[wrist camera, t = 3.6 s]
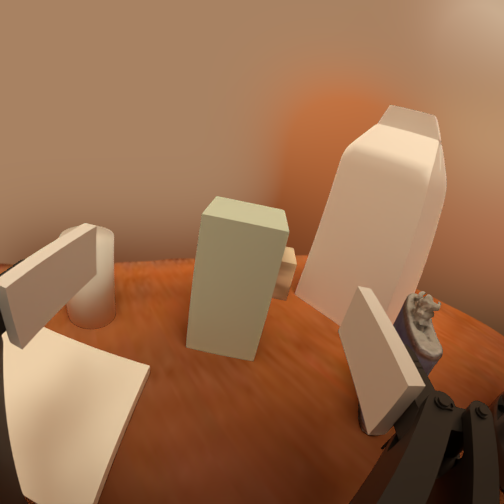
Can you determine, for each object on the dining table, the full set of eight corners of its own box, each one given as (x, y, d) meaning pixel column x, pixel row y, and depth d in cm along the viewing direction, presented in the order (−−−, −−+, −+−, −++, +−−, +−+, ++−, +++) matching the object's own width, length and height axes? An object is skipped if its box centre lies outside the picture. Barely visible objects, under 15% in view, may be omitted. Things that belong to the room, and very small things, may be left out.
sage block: (256, 321, 30) (284, 210, 25) (253, 361, 24) (289, 231, 20) (199, 310, 29) (216, 196, 25) (185, 347, 24) (202, 213, 19)
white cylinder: (123, 305, 27) (123, 231, 24) (102, 335, 22) (95, 253, 19) (83, 293, 27) (79, 221, 24) (59, 319, 22) (48, 240, 19)
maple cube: (283, 281, 40) (293, 248, 38) (285, 301, 35) (296, 264, 33) (247, 274, 39) (255, 240, 37) (245, 293, 35) (253, 255, 33)
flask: (383, 440, 17) (461, 335, 13) (351, 431, 18) (423, 322, 14) (387, 370, 25) (436, 279, 21) (362, 362, 26) (407, 268, 22)
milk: (294, 294, 37) (348, 87, 27) (341, 278, 44) (388, 114, 34) (370, 346, 29) (451, 107, 19) (404, 316, 36) (466, 137, 26)
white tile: (150, 372, 20) (149, 365, 20) (88, 530, 7) (84, 528, 7) (20, 321, 20) (18, 314, 19) (-64, 418, 7) (-69, 412, 6)
